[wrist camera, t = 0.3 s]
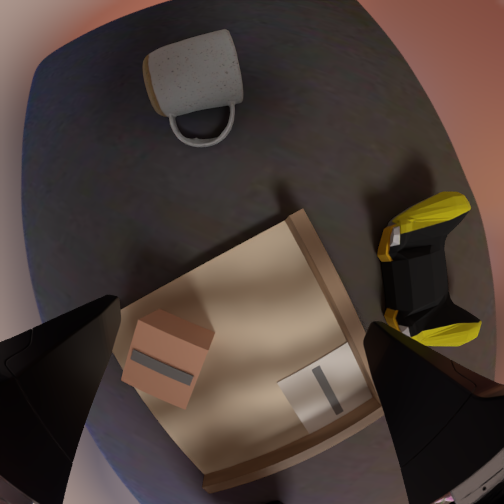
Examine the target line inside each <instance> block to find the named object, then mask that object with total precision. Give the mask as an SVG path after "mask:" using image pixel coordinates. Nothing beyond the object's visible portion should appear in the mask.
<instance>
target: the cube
mask: <svg viewBox="0 0 504 504" xmlns="http://www.w3.org/2000/svg"><path fill="white" fill-rule="evenodd" d="M214 334H215V332H213V331H211V330H208V329H206V328H203V327H201V326H198V325H196V324H193V323H191V322H189V321H186V320H184V319H182V318H179V317H177V316H175V315H172V314H170V313H168V312H166V311H163V310H161V309H158V310H156V311H154V312H152V313H150V314H148V315H146V316H144V317H142V318H140V319H139V320H138V322H137V325H136V329H135V332H134V335H133V339H132V342H131V345H130V349H129V352H128V356H127V359H126V363H125V367H124V370H123V374H122V378H121V381H123V382H125V383H127V384H129V385H131V386H133V387H135V388H137V389H139V390H141V391H143V392H145V393H147V394H150V395H152V396H154V397H156V398H158V399H161V400H163V401H165V402H168V403H170V404H172V405H175V406H177V407H180V408H182V409H185V410H186V407H187V405H188V402H189V399H190V397H191V394H192V392H193V389H194V387H195V384H196V381H197V379H198V376H199V374H200V371H201V369H202V366H203V363H204V361H205V358H206V356H207V353H208V351H209V348H210V345H211V343H212V340H213V337H214Z"/></svg>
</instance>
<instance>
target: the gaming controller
mask: <svg viewBox="0 0 504 504" xmlns="http://www.w3.org/2000/svg"><path fill="white" fill-rule="evenodd" d="M470 209H471V207H470V204H469V202H468V200H467V199H466V197H465V196H464V195H462V194H460V193H458V192H441V193H438V194H435V195H433V196H431V197H429V198H427V199H425V200H423V201H421V202H419V203H417V204H415V205H412V206H410V207H409V208H407V209H406V210H404V211H403V212H401V213H400V214H398V215H397V216H395V217H394V218H392V219H391V220H390V221H389V223H388V226H387V227H386V228H385V229H384V230H383V234H382V237H381V241H380V244H379V247H378V253H377V256H378V257H379V259H380V260H381V264H382V271H383V279H384V288H385V297H386V308H387V309H386V312H385V314H384V317H385V319H386V322H387V323H388V325H389V326H391V327H392V328H394V329H396V330H398V331H400V332H402V333H403V334H405V335H407V336H409V337H411V338H412V339H414V340H416V341H418V342H420V343H422V344H423V345H425V346H460V345H462V344H464V343H467V342H469V341H471V340H473V339H474V338H476V337H477V336H478V333H479V330H480V327H481V320H479V319H478V318H477V317H475V316H474V315H472V314H471V313H469V312H468V311H466V310H464V309H462V308H460V307H459V306H457V305H455V304H454V303H453V302H452V300H451V299H450V295H449V292H448V279H447V269H446V260H445V252H444V245H445V240H446V237H447V235H448V234H449V233H450V232H451V231H452V230H453V229H454V228H455V227H456V226H457V225H458V224H459V223H460V222H461V221H462V220H463V218H464V217H465V216H466V215H467V213H468V212H469V211H470Z"/></svg>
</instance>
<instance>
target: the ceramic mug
mask: <svg viewBox="0 0 504 504" xmlns="http://www.w3.org/2000/svg"><path fill="white" fill-rule="evenodd" d="M143 77H144V82H145V86H146V90H147V93H148V96H149V99H150V101H151V104H152V105H153V107H154V109H155V111H156V112H157V113H158V114H159V115H162V116H164V117H169V121H170V126H171V128H172V130H173V132H174V133H175V135H176V136H177V138H178V139H179V140H181V141H182V142H183V143H185V144H187V145H190V146H194V147H208V146H212V145H215V144H217V143H219V142H220V141H222V140H223V139H224V138H226V136H227V135H228V133H229V132H230V130H231V128H232V125H233V122H234V116H235V104H238V103H241V102H242V101H243V84H242V78H241V73H240V67H239V62H238V58H237V54H236V50H235V46H234V43H233V40H232V37H231V35H230V33H229V31H228V30H225V29H224V30H219V31H215V32H211V33H207V34H203V35H199V36H196V37H192V38H189V39H186V40H183V41H180V42H176V43H173V44H170V45H167V46H164V47H161V48H159V49H157V50H155V51H153V52H151V53H150V54H148V55H147V56H146V57H145V59H144V61H143ZM222 106H229V107H230V117H229V122H228V124H227V126H226V128H225V129H224V131H223V132H222V133H221V135H220V136H219V137H216V138H210V139H198V138H194V139H190V138H185V137H184V136H183V135H182V134H181V133H180V131H179V129H178V127H177V124H176V120H175V117H176V116H179V115H183V114H187V113H190V112H194V111H199V110H203V109H209V108H215V107H222Z"/></svg>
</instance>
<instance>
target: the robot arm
mask: <svg viewBox="0 0 504 504" xmlns="http://www.w3.org/2000/svg"><path fill="white" fill-rule="evenodd" d="M120 324H121V310H120V300H119V298H118V297H117V296H113V295H105V296H103V297H101V298H98V299H96V300H94V301H92V302H89V303H87V304H85V305H83V306H80V307H78V308H76V309H74V310H71V311H69V312H67V313H65V314H63V315H60V316H58V317H56V318H54V319H52V320H49V321H47V322H45V323H43V324H41V325H39V326H36V327H34V328H33V329H30V330H28V331H25V332H23V333H21V334H19V335H16V336H14V337H12V338H10V339H7V340H4V341H2V342H0V504H33V503H35V504H63V499H64V495H65V491H66V487H67V483H68V479H69V475H70V471H71V467H72V464H73V463H72V462H73V460H74V457H75V453H76V449H77V447H78V443H79V440H80V437H81V434H82V431H83V428H84V425H85V422H86V419H87V416H88V414H89V411H90V408H91V405H92V403H93V400H94V397H95V395H96V392H97V389H98V387H99V384H100V382H101V379H102V377H103V374H104V372H105V369H106V367H107V365H108V362H109V360H110V357H111V353H112V350H113V346H114V343H115V340H116V336H117V333H118V330H119V327H120ZM363 346H364V350H365V354H366V357H367V361H368V365H369V369H370V373H371V377H372V380H373V383H374V386H375V388H376V391H377V394H378V397H379V400H380V403H381V406H382V409H383V412H384V415H385V418H386V421H387V424H388V427H389V430H390V434H391V437H392V440H393V444H394V447H395V450H396V454H397V457H398V461H399V464H400V468H401V472H402V476H403V480H404V484H405V488H406V492H407V496H408V501H409V504H433V503H435V502H437V501H439V500H441V499H442V498H444V497H446V496H447V495H449V494H451V496H452V498H453V500H454V501H452V502H451V503H449V504H504V385H503V384H499V383H496V382H494V381H492V380H490V379H488V378H486V377H484V376H482V375H479V374H477V373H475V372H473V371H471V370H469V369H467V368H465V367H463V366H462V365H460V364H458V363H456V362H454V361H452V360H450V359H449V358H447V357H445V356H443V355H441V354H440V353H438V352H436V351H434V350H432V349H431V348H429V347H427V346H425V345H423V344H422V343H420V342H418V341H416V340H414V339H412V338H411V337H409V336H407V335H405V334H403V333H402V332H400V331H398V330H396V329H394V328H392V327H391V326H389V325H387V324H385V323H383V322H380V321H374V322H372V323H371V324H370V325H369V328H368V330H367V332H366V335H365V337H364V340H363ZM268 504H282V503H281V502H280V501H274V502H271V503H268Z"/></svg>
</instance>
